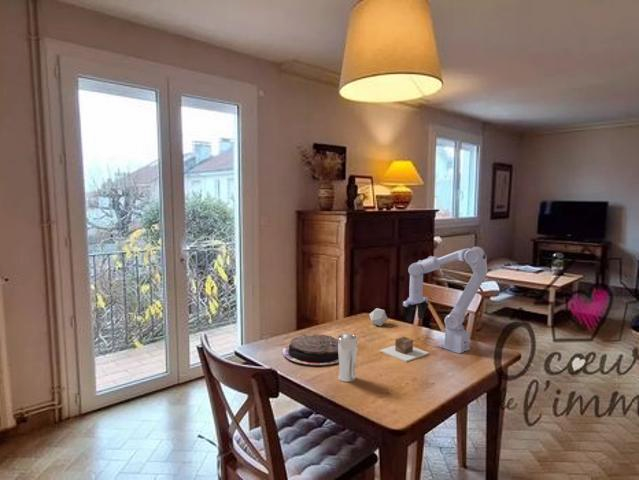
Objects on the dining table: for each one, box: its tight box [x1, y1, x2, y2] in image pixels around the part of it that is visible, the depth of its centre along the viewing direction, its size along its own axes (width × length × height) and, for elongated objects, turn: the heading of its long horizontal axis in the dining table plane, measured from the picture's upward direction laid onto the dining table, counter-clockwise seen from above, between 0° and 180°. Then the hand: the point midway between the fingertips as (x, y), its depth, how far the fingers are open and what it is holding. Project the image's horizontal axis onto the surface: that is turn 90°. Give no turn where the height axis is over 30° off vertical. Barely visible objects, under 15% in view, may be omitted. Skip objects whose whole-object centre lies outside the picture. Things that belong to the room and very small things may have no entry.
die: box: [369, 307, 389, 327], centre depth 209 cm, size 8×9×10 cm
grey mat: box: [379, 344, 430, 363], centre depth 172 cm, size 14×14×1 cm
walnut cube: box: [394, 336, 414, 354], centre depth 172 cm, size 5×5×5 cm
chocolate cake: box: [282, 333, 339, 368], centre depth 170 cm, size 28×28×7 cm
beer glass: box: [337, 333, 358, 383], centre depth 146 cm, size 7×7×15 cm
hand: (415, 319), depth 185 cm, fingers open, 7 cm apart
